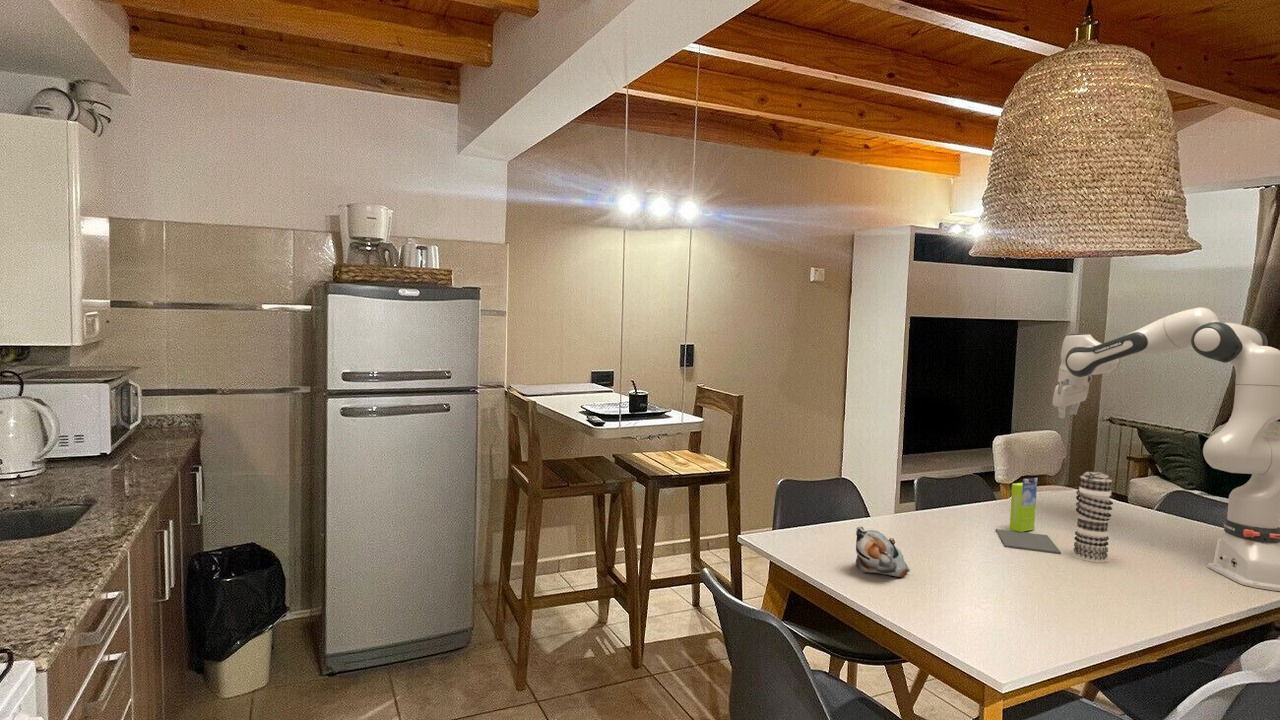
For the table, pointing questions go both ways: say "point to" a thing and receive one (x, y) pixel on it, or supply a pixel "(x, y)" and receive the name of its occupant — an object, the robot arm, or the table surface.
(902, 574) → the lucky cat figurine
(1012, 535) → the mat
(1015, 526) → the box
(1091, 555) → the decorative candle
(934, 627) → the table surface
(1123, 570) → the table surface
